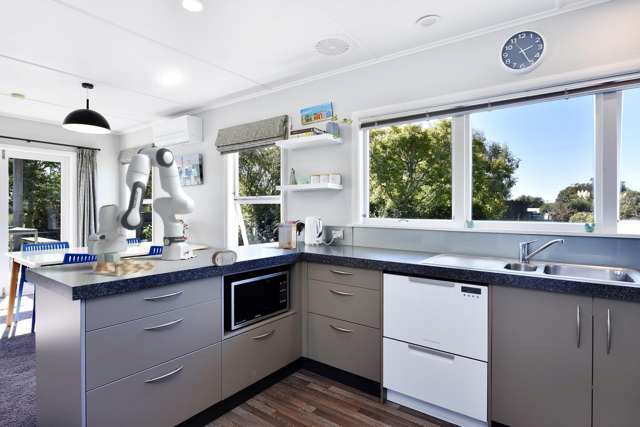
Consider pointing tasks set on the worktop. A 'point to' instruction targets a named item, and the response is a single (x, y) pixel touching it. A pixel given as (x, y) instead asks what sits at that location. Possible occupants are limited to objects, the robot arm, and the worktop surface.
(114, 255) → the slider
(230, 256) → the tin
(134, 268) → the track
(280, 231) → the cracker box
